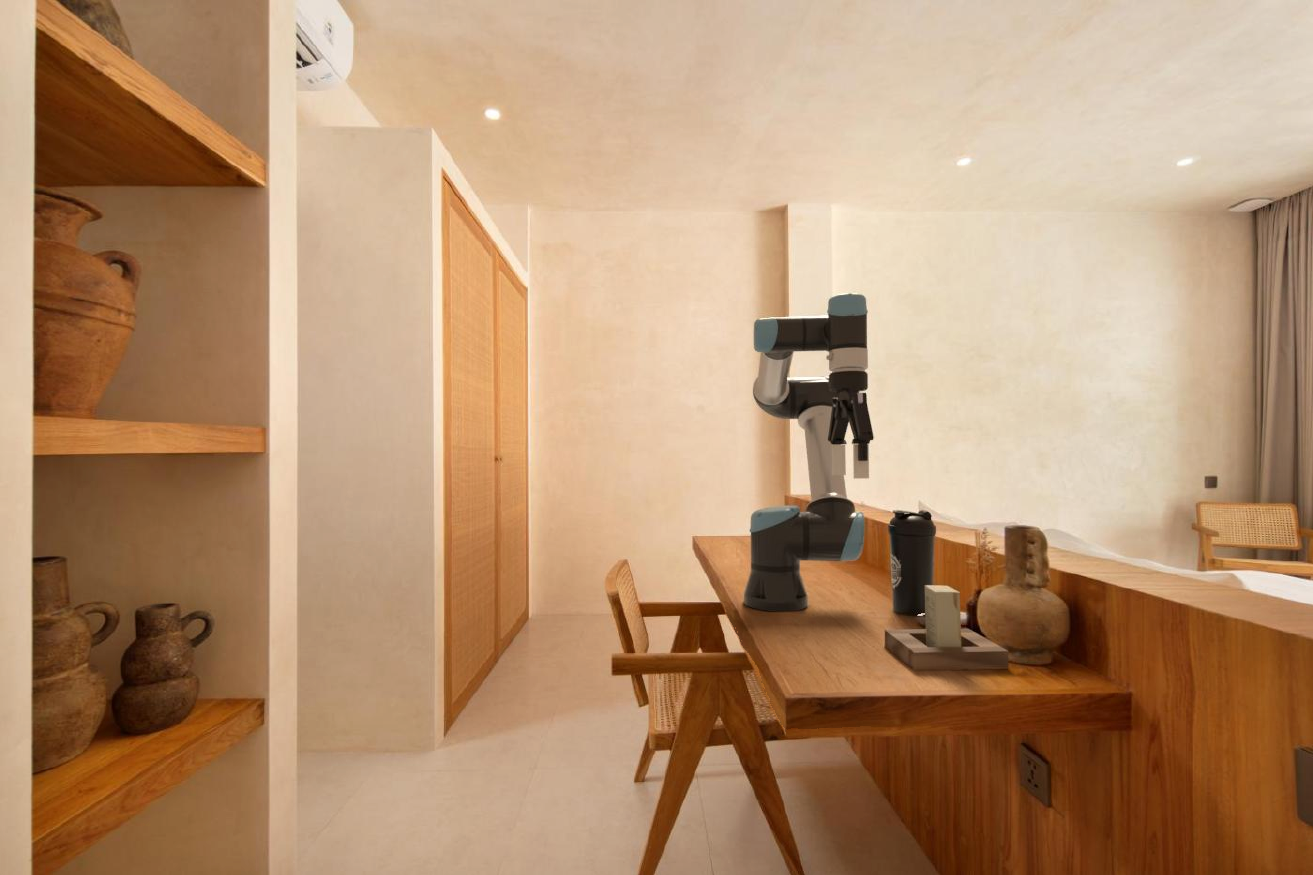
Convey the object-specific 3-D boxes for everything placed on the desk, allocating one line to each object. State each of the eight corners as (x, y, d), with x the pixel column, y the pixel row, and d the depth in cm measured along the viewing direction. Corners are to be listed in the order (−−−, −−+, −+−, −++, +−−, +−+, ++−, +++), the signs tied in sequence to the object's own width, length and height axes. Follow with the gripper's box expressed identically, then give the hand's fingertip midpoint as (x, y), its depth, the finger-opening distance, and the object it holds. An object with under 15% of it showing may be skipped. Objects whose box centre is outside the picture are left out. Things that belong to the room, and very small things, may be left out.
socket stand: (884, 645, 117) (884, 629, 117) (968, 644, 117) (968, 628, 117) (914, 670, 104) (914, 652, 104) (1008, 668, 104) (1008, 651, 104)
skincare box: (962, 663, 107) (961, 592, 108) (936, 662, 108) (935, 592, 108) (949, 651, 114) (948, 584, 114) (925, 650, 114) (924, 584, 114)
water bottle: (884, 605, 147) (883, 508, 147) (929, 606, 145) (928, 508, 146) (894, 616, 137) (893, 512, 137) (943, 618, 135) (941, 513, 136)
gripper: (812, 378, 137) (813, 474, 137) (850, 363, 112) (851, 480, 112) (846, 378, 137) (847, 473, 137) (891, 363, 112) (892, 479, 112)
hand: (849, 476), depth 124 cm, fingers open, 13 cm apart
